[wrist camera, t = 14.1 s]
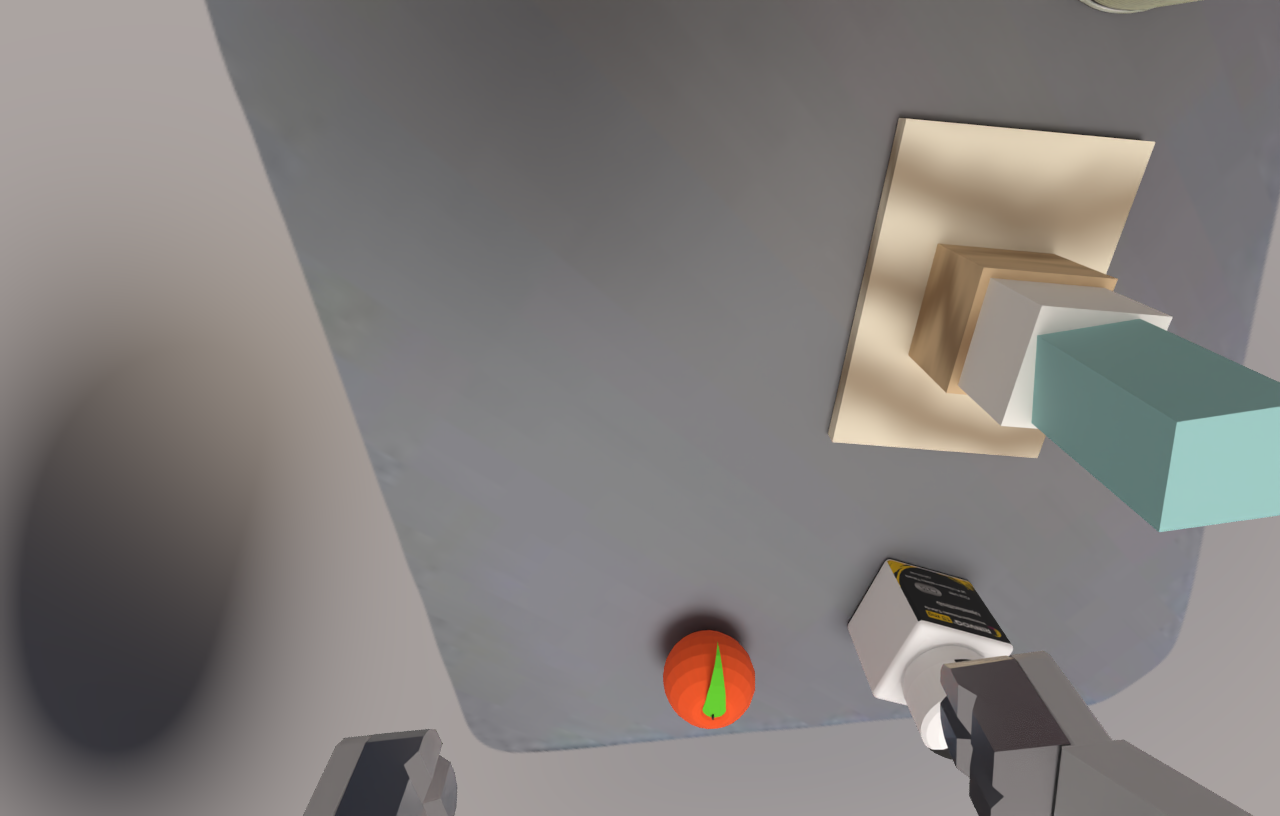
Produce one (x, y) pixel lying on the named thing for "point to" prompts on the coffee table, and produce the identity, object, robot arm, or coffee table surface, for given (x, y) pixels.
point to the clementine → (709, 679)
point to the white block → (1032, 338)
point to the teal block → (1162, 422)
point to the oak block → (977, 300)
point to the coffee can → (1130, 5)
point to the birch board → (978, 217)
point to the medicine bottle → (921, 639)
